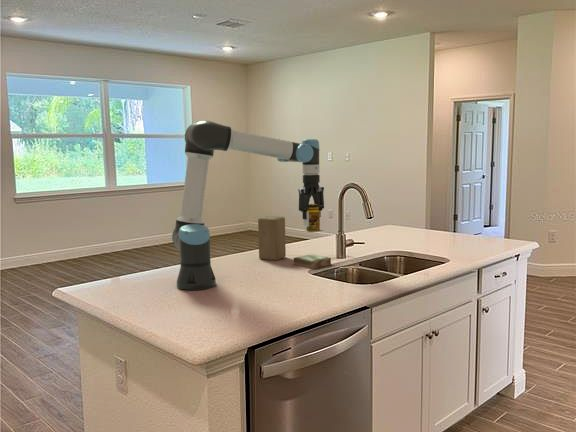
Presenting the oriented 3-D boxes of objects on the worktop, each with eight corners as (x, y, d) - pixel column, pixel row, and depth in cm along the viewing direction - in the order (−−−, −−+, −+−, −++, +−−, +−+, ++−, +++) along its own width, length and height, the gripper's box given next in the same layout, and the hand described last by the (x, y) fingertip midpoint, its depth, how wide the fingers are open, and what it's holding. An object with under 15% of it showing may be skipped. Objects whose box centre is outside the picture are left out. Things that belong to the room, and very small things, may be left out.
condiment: (310, 232, 227) (309, 205, 225) (300, 230, 235) (300, 203, 233) (324, 231, 231) (324, 204, 229) (314, 228, 238) (314, 202, 236)
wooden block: (258, 259, 247) (257, 218, 244) (268, 255, 255) (267, 215, 253) (276, 261, 242) (275, 219, 239) (286, 257, 251) (285, 216, 248)
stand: (311, 268, 226) (311, 261, 226) (293, 264, 235) (293, 257, 235) (330, 264, 234) (330, 257, 233) (313, 260, 243) (312, 253, 242)
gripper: (300, 175, 220) (301, 228, 223) (332, 173, 232) (332, 224, 235) (289, 175, 226) (290, 227, 229) (320, 173, 238) (321, 222, 241)
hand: (311, 225), depth 232 cm, fingers closed on condiment, 6 cm apart
